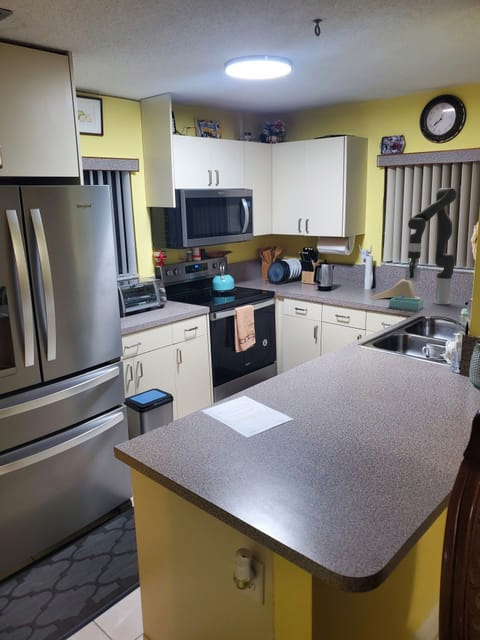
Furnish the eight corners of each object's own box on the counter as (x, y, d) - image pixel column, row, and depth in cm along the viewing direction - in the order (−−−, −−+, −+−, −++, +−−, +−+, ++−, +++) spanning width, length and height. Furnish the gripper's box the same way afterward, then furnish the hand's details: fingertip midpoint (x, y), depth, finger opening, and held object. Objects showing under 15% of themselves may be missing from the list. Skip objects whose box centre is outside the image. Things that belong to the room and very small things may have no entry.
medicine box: (419, 280, 309) (420, 267, 307) (416, 281, 305) (418, 267, 304) (407, 279, 314) (408, 266, 312) (404, 280, 310) (405, 266, 308)
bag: (415, 302, 356) (366, 298, 359) (418, 278, 354) (369, 274, 357) (422, 304, 337) (371, 300, 340) (425, 279, 335) (373, 275, 338)
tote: (394, 304, 326) (395, 296, 325) (422, 306, 317) (423, 299, 316) (388, 307, 313) (389, 300, 312) (417, 310, 304) (418, 302, 303)
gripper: (410, 249, 313) (408, 276, 317) (406, 251, 301) (403, 278, 305) (423, 250, 310) (420, 276, 313) (418, 251, 298) (416, 279, 301)
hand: (412, 277), depth 309 cm, fingers closed on medicine box, 5 cm apart
